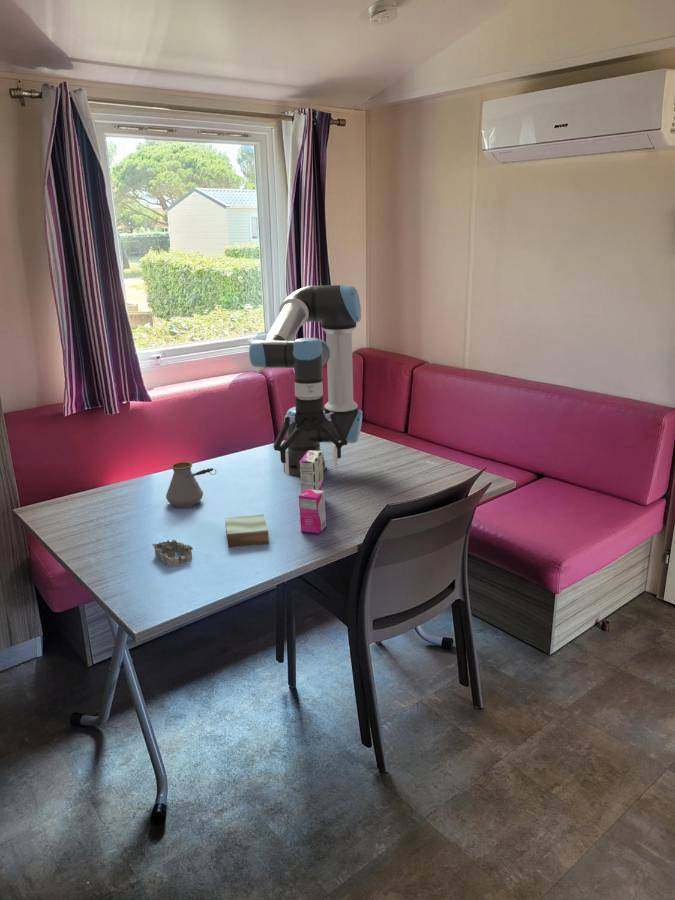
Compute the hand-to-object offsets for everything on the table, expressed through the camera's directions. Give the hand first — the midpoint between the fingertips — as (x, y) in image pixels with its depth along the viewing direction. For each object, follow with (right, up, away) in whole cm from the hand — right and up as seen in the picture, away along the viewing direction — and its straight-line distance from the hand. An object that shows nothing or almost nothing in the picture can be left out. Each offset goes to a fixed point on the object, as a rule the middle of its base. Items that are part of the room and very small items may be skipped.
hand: (311, 471), depth 185 cm
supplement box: (0, -17, +6) cm, 18 cm away
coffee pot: (-37, -12, +24) cm, 46 cm away
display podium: (-18, -18, +2) cm, 26 cm away
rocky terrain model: (-36, -23, -9) cm, 44 cm away
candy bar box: (0, -11, +23) cm, 26 cm away
